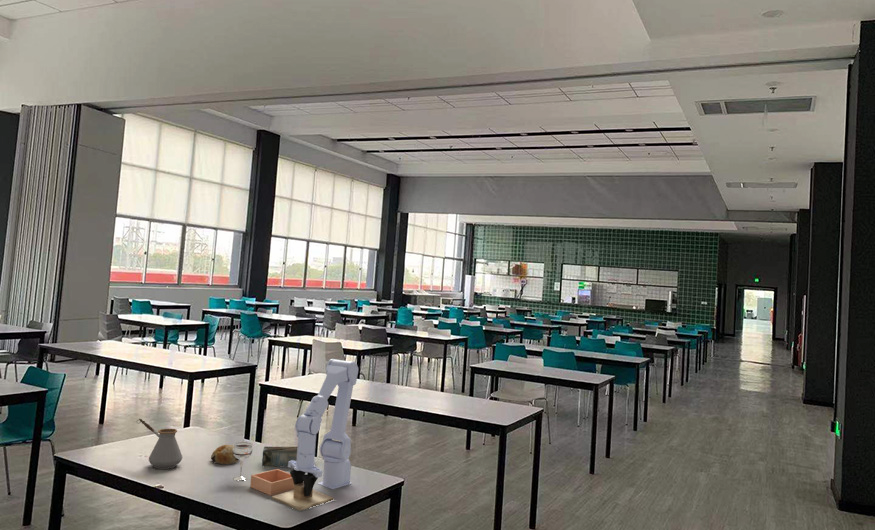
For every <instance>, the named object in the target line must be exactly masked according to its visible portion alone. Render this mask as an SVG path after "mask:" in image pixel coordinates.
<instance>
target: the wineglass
mask: <svg viewBox="0 0 875 530" xmlns="http://www.w3.org/2000/svg"><path fill="white" fill-rule="evenodd" d="M232 445H233V446H234V448H233V455H234V456H235V457H236V458H237V459H239V462H240V469H239V470H240V472H239V473H240V474H239V476H235V477H233V478H232V480H233V479H234V480H233V481H236V480H237V482H240V481H239V480H244V481H246V480H245V479H246V477H247V476H242V473H243V464H244V461H245V460H246V459H249V457H251V456H252V453H253V445H254V444H253V443H251V442H247V441H241V442H235V443H233V444H232Z"/></svg>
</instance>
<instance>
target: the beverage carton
mask: <svg viewBox="0 0 875 530" xmlns="http://www.w3.org/2000/svg"><path fill="white" fill-rule="evenodd" d="M297 448H298V446H264V447H263V448H262V449H263V450H262V459H261V466H262V467H263V466H264V467H266V466H267V467H273V468H275V467H278V466H279V468H280V466H288V461H292V460H294V461H297Z"/></svg>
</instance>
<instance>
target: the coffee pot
mask: <svg viewBox="0 0 875 530" xmlns="http://www.w3.org/2000/svg"><path fill="white" fill-rule="evenodd" d="M138 421H139V422H138ZM136 422H137V424H142V425H144V427H145V428H147V429H148V430H149V431H150V432H152V433H153V434H155V436H157V437H158V438H157V439H158V440H157V441H156V443H155V445H154V447H153V448H152V449H153V450H152V451H151V453H150V455H149V457H148V462H149V464H150V465H152V466H153V468H155V469H161V470H163V469H164V470H165V469H172V468H175V467H176V466H177V465H178V464H180V463H181V462H182V460H183V455H182V451H181V449H180V446H179V444H178V441H177V438H176V433H177V432H178V430H177V429H176V428H163V429H159V430H158V432H157V431H156V430H155V429H154V428H153V426H152V425H150V424H149V423H147V422H146V421H145V420H143V419H142V418H139V419H138V420H136Z"/></svg>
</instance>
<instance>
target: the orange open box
mask: <svg viewBox="0 0 875 530" xmlns="http://www.w3.org/2000/svg"><path fill="white" fill-rule="evenodd" d="M249 487H250V488H252V489H254V490H256V491H258V492H261V493H263V494H266V495H268V496H271V497H272V496H274V495H278V494H281V493H285V492H288V491H292V490H294V482H293V479H292V476H291V474H290V472H288V471H284V470H282V469H279V468H276V469H271V470H268V471H263V472H258V473H254V474H251V475H250V485H249Z"/></svg>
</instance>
